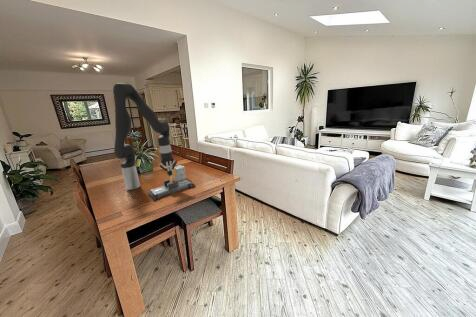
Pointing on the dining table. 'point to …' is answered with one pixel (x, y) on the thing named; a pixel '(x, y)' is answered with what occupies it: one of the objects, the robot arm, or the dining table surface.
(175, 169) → the breaker lever
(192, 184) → the cord bundle far
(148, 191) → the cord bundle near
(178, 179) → the light bulb box
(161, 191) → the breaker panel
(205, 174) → the dining table surface
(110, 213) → the dining table surface
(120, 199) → the dining table surface
